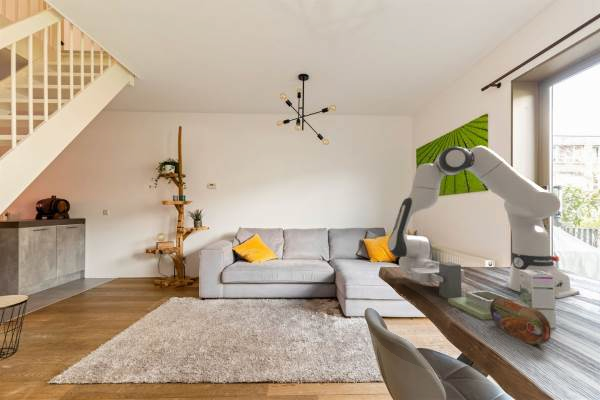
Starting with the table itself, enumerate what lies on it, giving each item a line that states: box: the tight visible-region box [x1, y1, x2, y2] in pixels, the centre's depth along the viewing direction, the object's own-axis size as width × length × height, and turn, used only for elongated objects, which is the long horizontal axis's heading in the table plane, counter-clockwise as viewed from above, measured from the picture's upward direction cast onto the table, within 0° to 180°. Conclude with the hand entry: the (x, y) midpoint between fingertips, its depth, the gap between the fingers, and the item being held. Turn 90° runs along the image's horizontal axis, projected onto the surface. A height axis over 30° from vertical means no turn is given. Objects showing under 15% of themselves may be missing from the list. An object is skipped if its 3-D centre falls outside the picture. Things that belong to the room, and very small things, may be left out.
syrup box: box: [519, 270, 557, 329], centre depth 76 cm, size 6×6×14 cm
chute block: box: [438, 261, 463, 300], centre depth 98 cm, size 5×5×12 cm
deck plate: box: [447, 290, 513, 321], centre depth 86 cm, size 16×14×4 cm
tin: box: [490, 298, 552, 345], centre depth 69 cm, size 15×3×8 cm, turn 5°
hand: (451, 279), depth 97 cm, fingers closed on chute block, 5 cm apart
